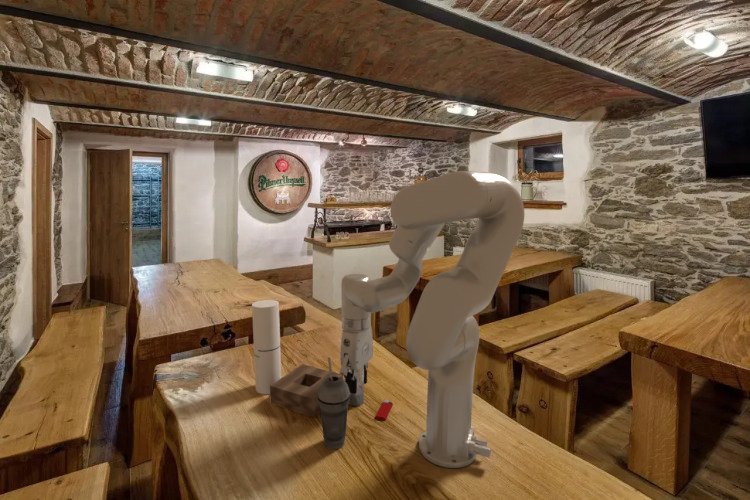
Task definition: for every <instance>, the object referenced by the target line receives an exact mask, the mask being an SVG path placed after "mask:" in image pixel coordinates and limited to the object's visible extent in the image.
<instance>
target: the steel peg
mask: <svg viewBox="0 0 750 500" xmlns="http://www.w3.org/2000/svg"><path fill="white" fill-rule="evenodd" d="M349 366H350V364H349ZM349 372H350V373H351V374H352V370H351V369H349ZM355 379H357V393H356V394H353V393H350V399H349V404H348V405H350V406H353V407H359V406H360V407H361V406H362V405H363V404H364V402H365V384H364V366H362V367H361V368H360V369H359V370H356V377H355Z"/></svg>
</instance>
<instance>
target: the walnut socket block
mask: <svg viewBox="0 0 750 500" xmlns="http://www.w3.org/2000/svg"><path fill="white" fill-rule="evenodd" d="M333 376H336V377H340V378H342V379H343V380H344V376H343V375H342V374H340V373H337V372H334V371H332V377H333ZM329 377H330V372H329V370H326V369H323V368H318V367H315V366H310V365H308V364H301V365H300V366H298V367H296V368H295V369H293V370H291V371H290V372H289V373H287V374H286V375H284V376H281V379H279V380H278V381H276V382H275V383H273V384H272V385H270V394H269V396H270V398H269V399H270V404H271V405H275V406H278V407H280V408H284V409H287V410H290V411H293V412H296V413H300V414H302V415H306V416H308V417H312V418H315V417H316V416H318V415H319V413H321V410H320V406H319V401H318V398H317V395H318V390H319V388H320V385H321V384H322V382H323V381H324V380H325V379H327V378H329Z"/></svg>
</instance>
